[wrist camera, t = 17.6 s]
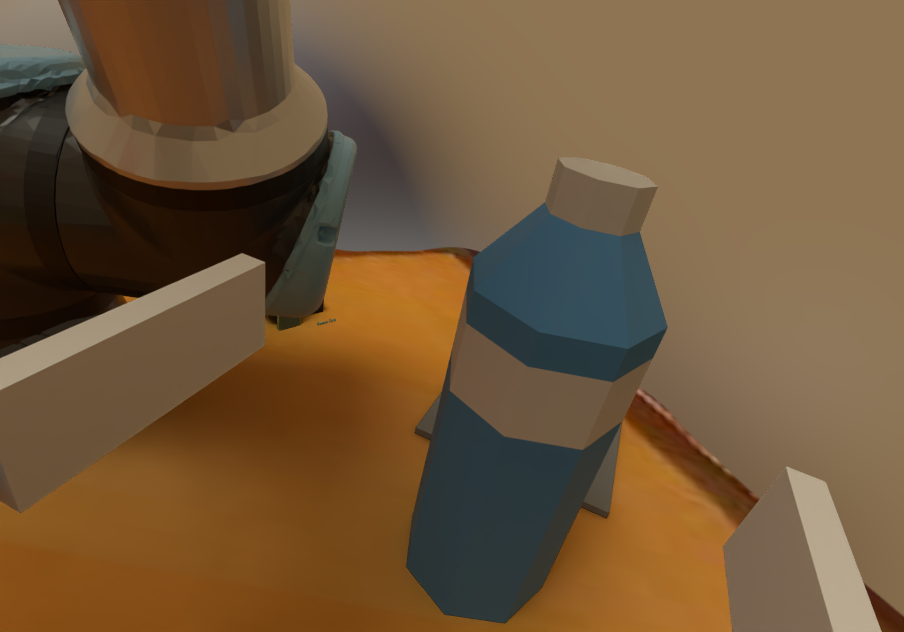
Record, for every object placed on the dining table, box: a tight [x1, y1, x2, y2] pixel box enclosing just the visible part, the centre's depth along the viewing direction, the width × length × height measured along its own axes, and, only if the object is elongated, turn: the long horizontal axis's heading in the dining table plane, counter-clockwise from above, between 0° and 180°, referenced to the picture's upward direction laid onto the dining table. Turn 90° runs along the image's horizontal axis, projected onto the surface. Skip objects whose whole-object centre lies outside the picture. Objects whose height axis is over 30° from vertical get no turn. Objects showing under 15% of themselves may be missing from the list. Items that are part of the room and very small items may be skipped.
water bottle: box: [406, 158, 667, 623], centre depth 26 cm, size 9×9×25 cm
